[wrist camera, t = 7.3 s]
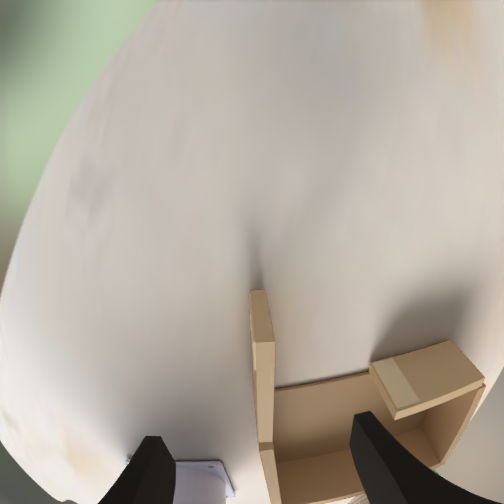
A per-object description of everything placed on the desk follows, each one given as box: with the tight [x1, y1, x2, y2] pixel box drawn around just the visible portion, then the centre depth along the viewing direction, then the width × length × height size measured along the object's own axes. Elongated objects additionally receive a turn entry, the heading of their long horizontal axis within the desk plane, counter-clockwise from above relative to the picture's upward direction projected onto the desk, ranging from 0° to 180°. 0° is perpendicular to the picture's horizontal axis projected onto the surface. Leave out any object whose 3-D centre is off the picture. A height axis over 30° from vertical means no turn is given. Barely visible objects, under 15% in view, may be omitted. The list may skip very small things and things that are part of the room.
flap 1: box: [249, 290, 275, 443], centre depth 16 cm, size 7×1×5 cm, turn 1°
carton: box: [259, 371, 486, 504], centre depth 19 cm, size 16×11×5 cm
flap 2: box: [369, 340, 485, 420], centre depth 17 cm, size 7×1×5 cm, turn 97°
